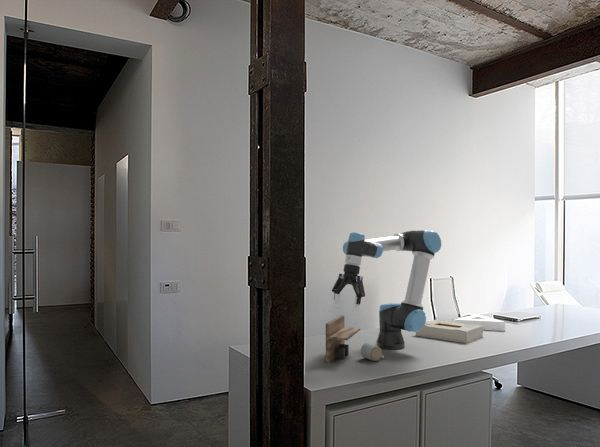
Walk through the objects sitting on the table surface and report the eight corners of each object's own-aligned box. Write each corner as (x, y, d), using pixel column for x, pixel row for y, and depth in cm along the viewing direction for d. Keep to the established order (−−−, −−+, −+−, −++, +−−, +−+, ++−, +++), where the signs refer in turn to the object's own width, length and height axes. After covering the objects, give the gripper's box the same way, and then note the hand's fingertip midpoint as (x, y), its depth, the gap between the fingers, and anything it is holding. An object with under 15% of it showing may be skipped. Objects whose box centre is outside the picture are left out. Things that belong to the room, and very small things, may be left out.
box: (415, 336, 288) (467, 344, 266) (414, 323, 288) (467, 330, 267) (432, 331, 305) (483, 338, 284) (432, 319, 305) (483, 324, 284)
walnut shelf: (360, 351, 249) (360, 316, 249) (347, 364, 224) (347, 325, 225) (340, 349, 252) (340, 315, 253) (325, 362, 228) (325, 323, 228)
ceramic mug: (371, 362, 227) (371, 346, 227) (360, 358, 234) (360, 343, 234) (388, 360, 232) (388, 344, 232) (377, 356, 239) (377, 340, 239)
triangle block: (454, 329, 309) (454, 319, 309) (454, 322, 334) (454, 313, 334) (505, 332, 300) (504, 321, 301) (500, 324, 325) (500, 315, 325)
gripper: (329, 262, 237) (322, 305, 234) (365, 265, 217) (358, 312, 214) (340, 264, 241) (333, 306, 238) (377, 267, 221) (370, 314, 218)
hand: (345, 309), depth 226 cm, fingers open, 13 cm apart
